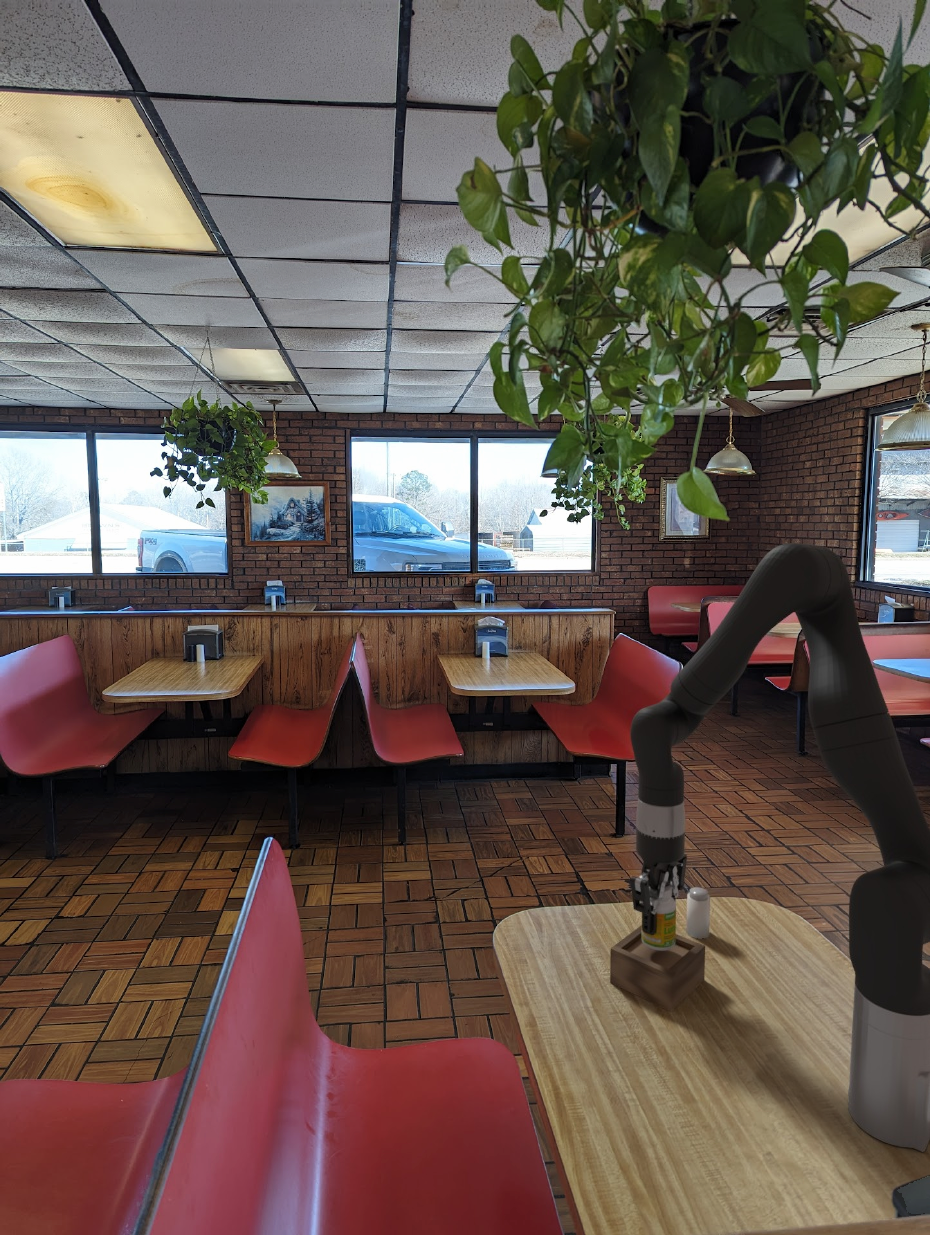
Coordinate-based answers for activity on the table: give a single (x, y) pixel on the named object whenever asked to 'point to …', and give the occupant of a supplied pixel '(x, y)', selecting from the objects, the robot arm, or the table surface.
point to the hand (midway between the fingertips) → (658, 925)
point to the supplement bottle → (663, 923)
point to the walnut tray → (657, 969)
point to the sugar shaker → (698, 913)
